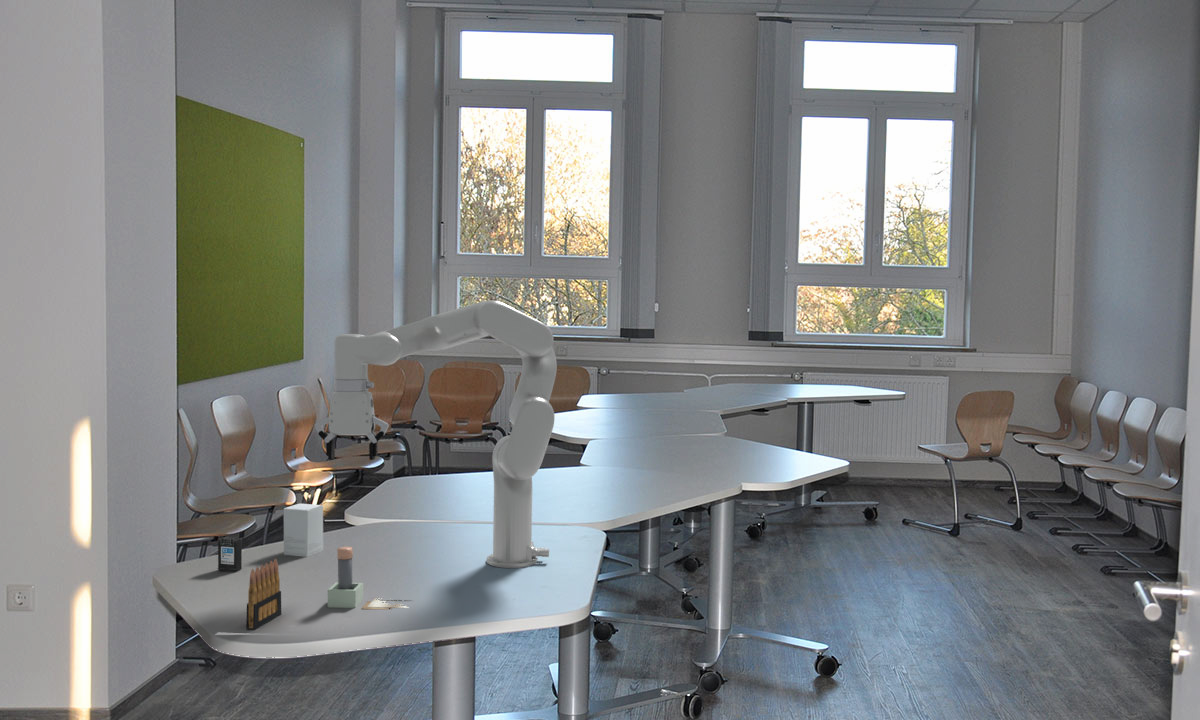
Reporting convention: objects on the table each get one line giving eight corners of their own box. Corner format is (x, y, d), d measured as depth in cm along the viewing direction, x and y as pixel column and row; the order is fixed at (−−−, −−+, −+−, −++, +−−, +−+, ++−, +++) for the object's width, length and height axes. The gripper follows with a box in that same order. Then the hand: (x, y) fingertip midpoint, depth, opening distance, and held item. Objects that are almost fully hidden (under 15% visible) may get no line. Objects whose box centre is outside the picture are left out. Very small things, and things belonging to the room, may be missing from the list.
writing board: (442, 596, 228) (442, 593, 228) (431, 612, 216) (431, 609, 216) (375, 594, 229) (375, 591, 229) (361, 610, 217) (361, 607, 217)
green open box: (363, 601, 224) (363, 583, 224) (355, 609, 218) (355, 590, 218) (335, 600, 224) (335, 582, 224) (327, 608, 218) (327, 589, 218)
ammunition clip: (273, 613, 214) (273, 557, 213) (281, 614, 213) (281, 557, 213) (245, 629, 203) (245, 569, 203) (254, 630, 203) (254, 570, 202)
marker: (354, 601, 222) (354, 546, 222) (350, 605, 219) (350, 550, 218) (340, 601, 222) (339, 546, 222) (336, 605, 219) (335, 550, 219)
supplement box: (324, 553, 266) (324, 504, 265) (307, 559, 259) (307, 510, 258) (300, 550, 268) (300, 502, 268) (282, 556, 261) (282, 507, 261)
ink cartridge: (217, 571, 246) (217, 538, 246) (222, 568, 249) (222, 536, 248) (236, 572, 245) (236, 539, 245) (241, 570, 248) (241, 537, 247)
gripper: (391, 385, 244) (391, 457, 245) (319, 385, 244) (319, 456, 245) (384, 388, 236) (385, 461, 237) (310, 387, 236) (310, 461, 237)
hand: (351, 459), depth 241 cm, fingers open, 9 cm apart
